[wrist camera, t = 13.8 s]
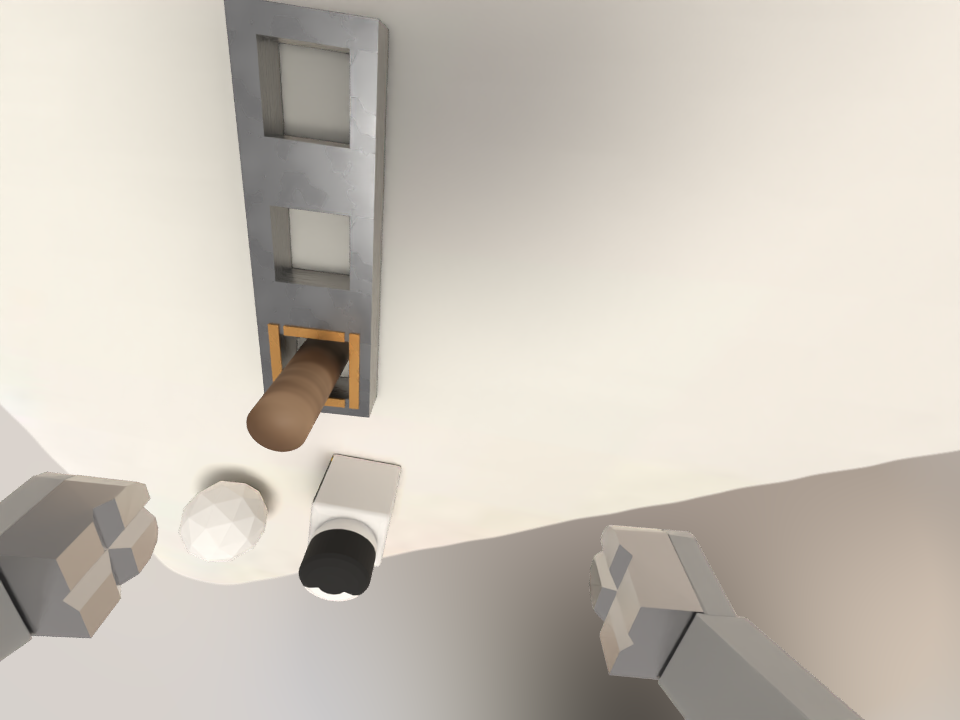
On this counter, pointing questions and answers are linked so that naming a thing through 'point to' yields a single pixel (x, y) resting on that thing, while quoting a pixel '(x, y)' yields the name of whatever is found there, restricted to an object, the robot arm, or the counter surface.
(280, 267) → the rectangular metal frame
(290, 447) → the walnut peg
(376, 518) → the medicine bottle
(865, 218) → the counter surface
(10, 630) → the robot arm
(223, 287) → the counter surface
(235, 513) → the ball
